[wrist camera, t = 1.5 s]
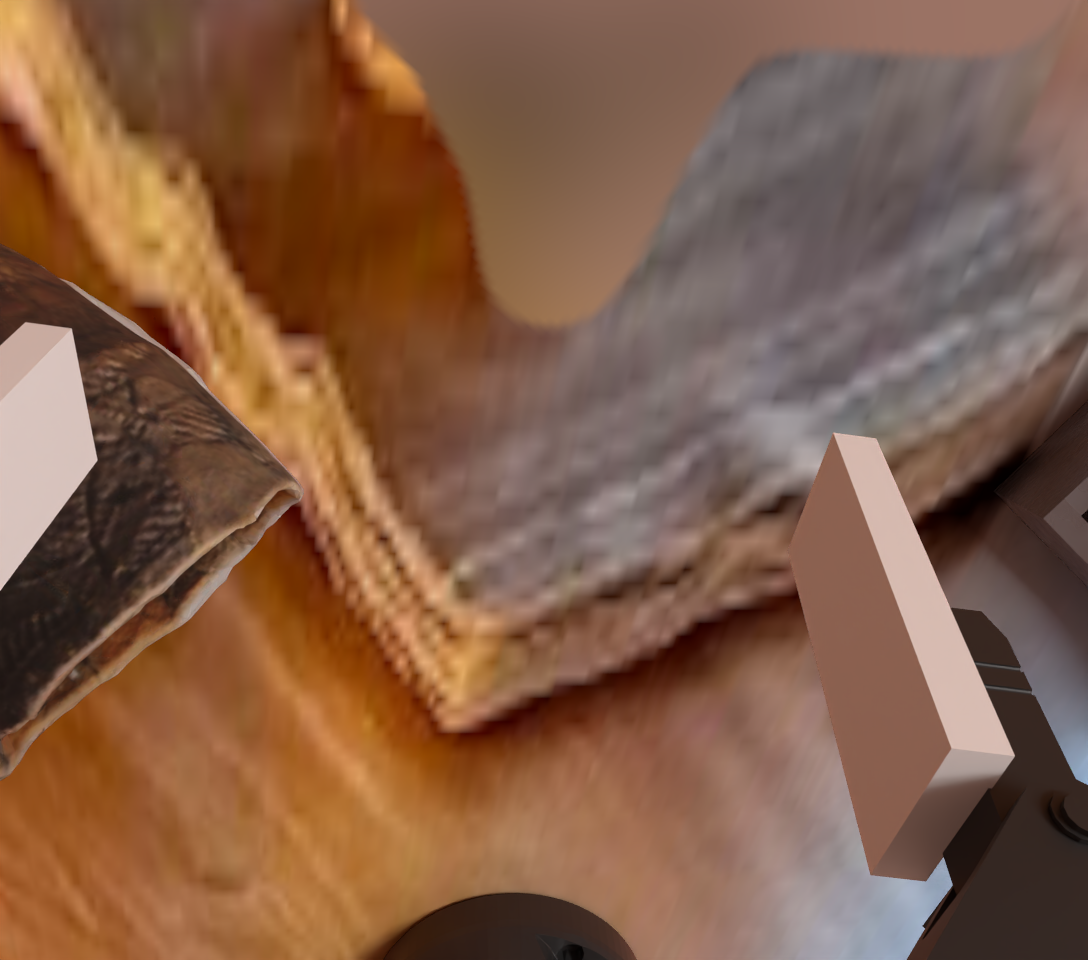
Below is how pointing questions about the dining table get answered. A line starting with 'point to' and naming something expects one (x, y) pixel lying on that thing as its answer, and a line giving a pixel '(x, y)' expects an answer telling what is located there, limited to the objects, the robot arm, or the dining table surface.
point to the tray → (1056, 492)
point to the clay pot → (123, 511)
